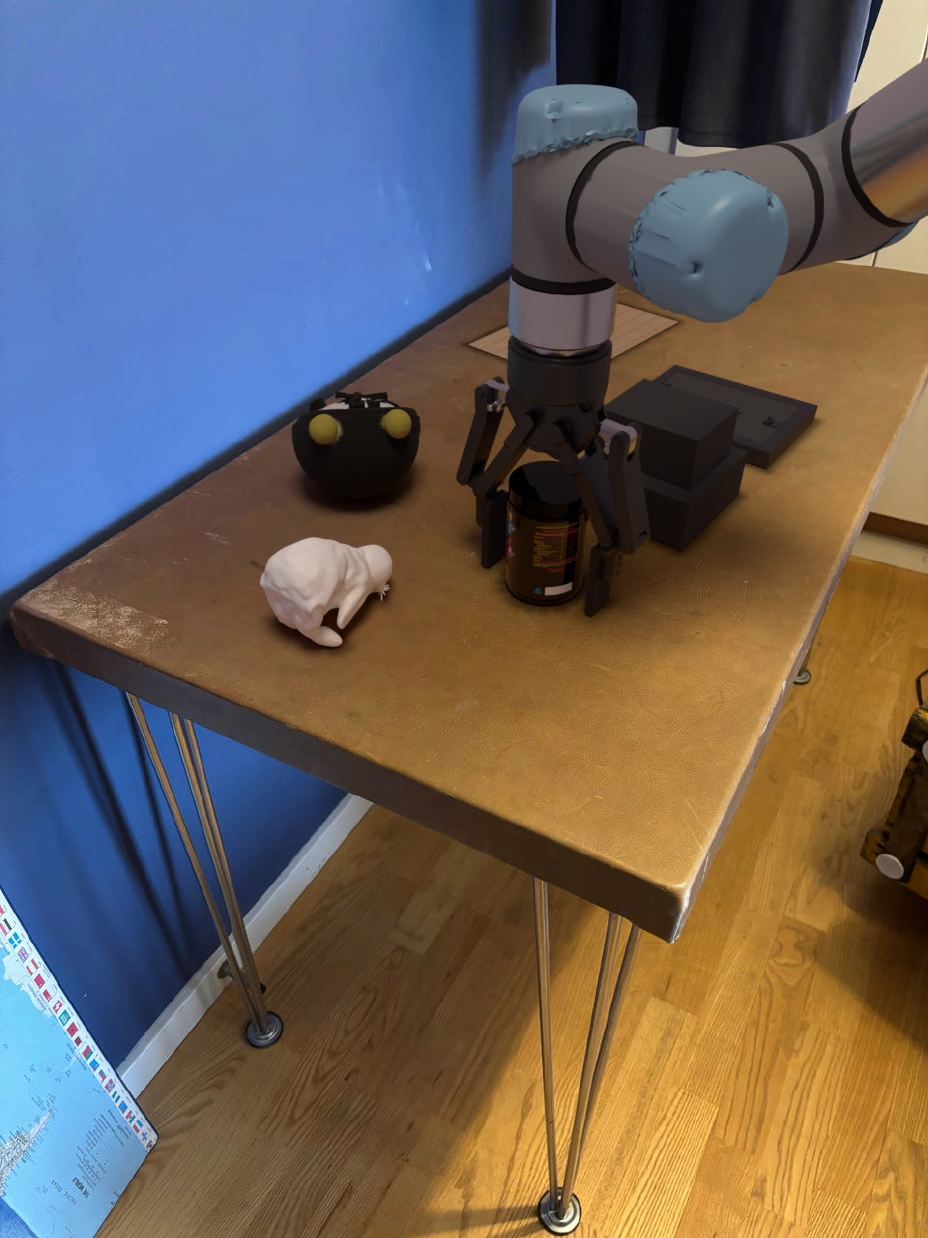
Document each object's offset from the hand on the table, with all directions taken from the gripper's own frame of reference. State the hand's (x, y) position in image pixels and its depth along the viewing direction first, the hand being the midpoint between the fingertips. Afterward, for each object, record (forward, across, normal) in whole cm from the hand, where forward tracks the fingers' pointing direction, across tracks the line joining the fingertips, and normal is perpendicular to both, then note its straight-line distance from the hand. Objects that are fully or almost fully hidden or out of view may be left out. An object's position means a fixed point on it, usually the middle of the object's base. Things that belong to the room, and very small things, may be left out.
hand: (543, 581), depth 79 cm
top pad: (-5, -1, -18) cm, 19 cm away
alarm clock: (0, +24, -2) cm, 24 cm away
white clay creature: (0, +11, +14) cm, 18 cm away
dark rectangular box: (0, -1, -18) cm, 18 cm away
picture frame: (0, +2, -37) cm, 37 cm away
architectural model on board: (0, +28, -48) cm, 56 cm away
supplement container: (0, 0, 0) cm, 0 cm away
